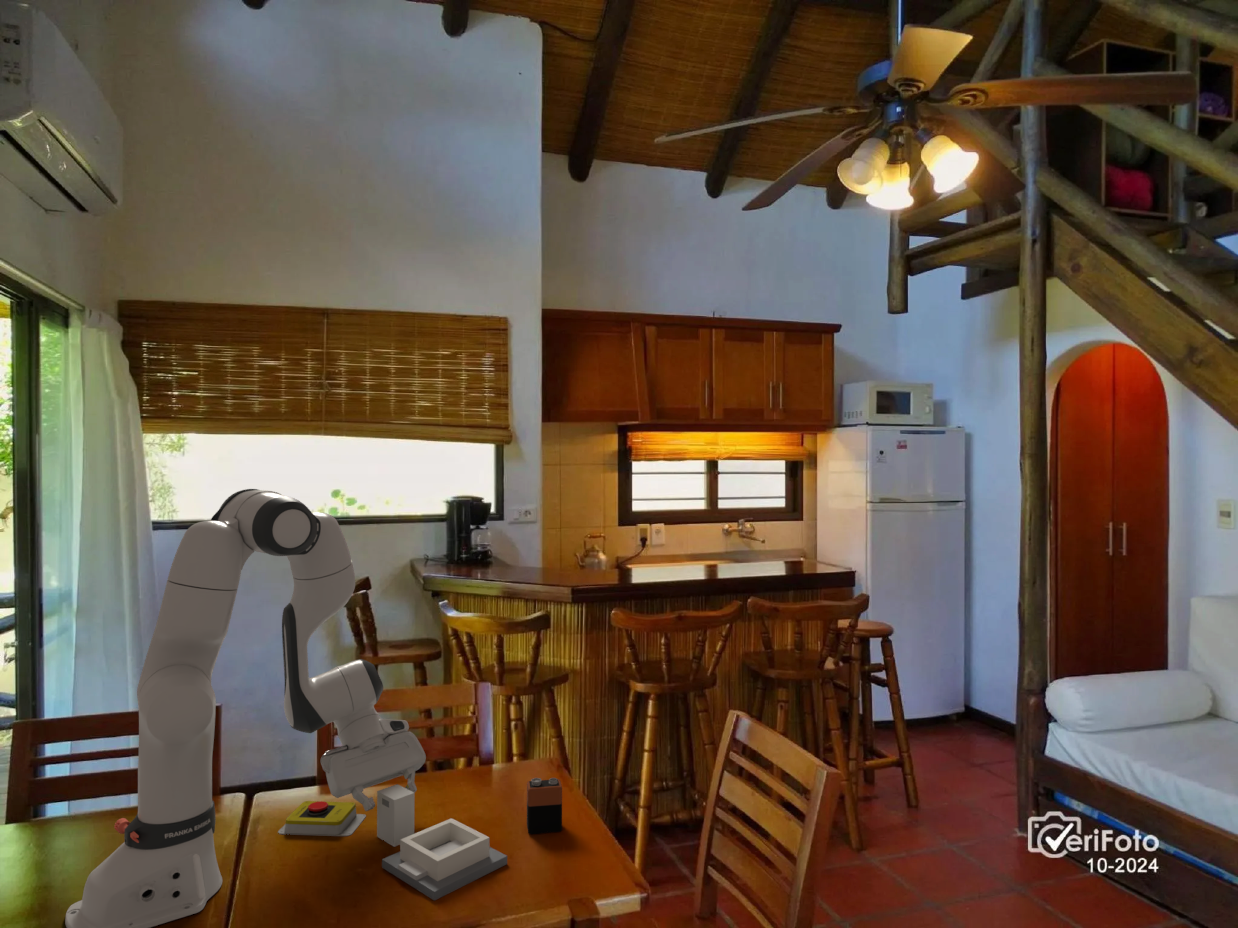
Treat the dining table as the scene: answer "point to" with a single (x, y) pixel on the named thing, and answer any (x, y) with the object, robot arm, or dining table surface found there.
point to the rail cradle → (443, 858)
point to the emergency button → (323, 819)
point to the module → (395, 814)
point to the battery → (544, 806)
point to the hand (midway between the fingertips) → (392, 800)
